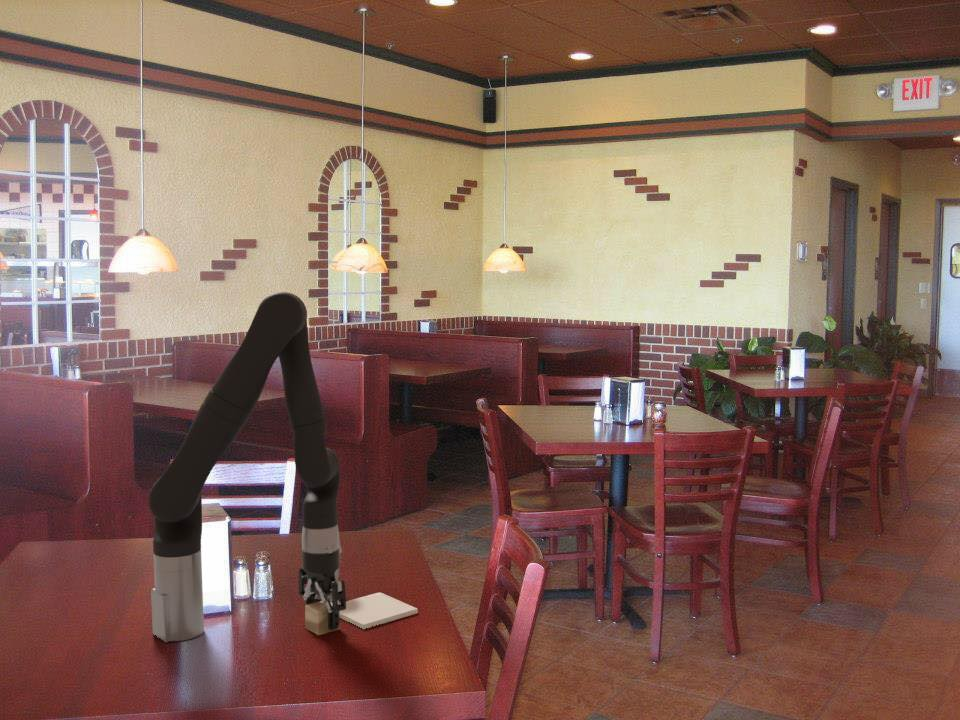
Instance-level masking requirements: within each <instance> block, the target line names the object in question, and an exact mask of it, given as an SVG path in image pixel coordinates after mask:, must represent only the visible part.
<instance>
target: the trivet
mask: <svg viewBox="0 0 960 720" xmlns="http://www.w3.org/2000/svg"><path fill="white" fill-rule="evenodd" d="M340 604H341V602H340ZM417 614H418V608H417V607H414V606H413V605H410V604H408V603H406V602H403V601H401V600H399V599H396V598H394V597H392V596H390V595H387V594H385V593H382V592H376V593H372V594H371V593H370V594H368V595H365V596H361V597H357V598H354V599H349V600H346V609H345V610H341V611H339V619H341V620H344V621H345V622H347V623H349V622H350V623H349V624H351V623H352V624H351V625H353V624H354V626H355V625H356V626H355V627H357V626H358V627H357V628H359V627H360V628H359V629H361V628H362V630H366V628H367V629H370V628H372V626H373V627H376V625H377V626H379V624H380V625H382V624H386V623H389V622H393V621H396V620H399V619H403V618H406V617H409V616H413V615H417Z"/></svg>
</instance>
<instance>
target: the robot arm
mask: <svg viewBox="0 0 960 720" xmlns="http://www.w3.org/2000/svg"><path fill="white" fill-rule="evenodd" d="M307 319H308V310H307V306H306V305H305V303H304V302H303V300H302V299H301V298H300V297H299V296H298V295H296V294H294V293H291V292H287V291H278V292H273V293H271V294H269V295H267V296H266V297H265V298H264V299H262V301H260V303H259V304H258V308H257V310H256V312H255V314H254V316H253V319H252V321H251V324H250V326H249V327H248V330H247V332H246V334H245V336H244V338H243V340H242V342H241V343H240V346H239V347H238V349H237V350H236V352H235V353H234V355H233V356H232V357H231V359H229V361H228V362H227V364H226V365H225V367H224V368H223V369H222V371H221V373H220V374H219V376H218V377H217V379H216V380H215V382H214V383H213V385H212V386H211V388H210V389H209V391H208V393H207V394H206V396H205V398H204V400H203V401H202V403H201V405H200V407H199V409H198V411H197V413H196V415H195V416H194V418H193V421H192V423H191V424H190V427H189V429H188V432H187V433H186V436H185V438H184V440H183V442H182V445H181V447H180V449H179V450H178V452H177V453H176V456H175V457H174V458H173V460H172V461H171V463H170V464H169V465H168V467H167V468H166V469H165V470H164V472H163V473H162V474H161V476H160V477H159V478H158V479H157V480H156V481H155V482H154V483H153V485H152V486H151V489H150V491H149V493H148V507H149V510H150V512H151V514H152V515H153V517H154V521H155V524H154V535H153V538H152V539H153V540H152V551H153V552H152V553H153V574H154V575H153V576H154V587H153V588H151V590H150V596H151V597H150V598H151V599H150V600H151V619H152V620H151V621H152V622H151V623H152V624H151V625H152V635H153V634H154V635H153V636H155V635H156V636H157V637H156V636H155V637H156V638H158V639H159V638H160V639H161V641H162V640H163V641H164V642H163V641H162V642H163V643H169V641H170V642H182V641H186V640H190V639H194V638H197V637H199V636H200V635H202V634H203V633H204V631H205V625H204V624H205V618H204V598H203V597H204V595H203V594H204V593H203V570H202V568H203V566H202V532H203V509H202V508H203V505H202V504H203V503H202V489H203V487H204V485H205V484H206V481H207V480H208V477H209V476H210V474H211V472H212V470H213V468H214V467H215V466H216V464H217V463H218V461H219V460H220V459H221V457H222V456H223V455H224V454H225V452H226V451H227V450H228V448H229V447H230V446H231V445H232V444H233V442H234V440H235V439H237V438H236V437H238V435H239V434H240V432H241V431H242V429H243V428H244V426H245V424H246V423H247V422H248V419H249V418H250V416H251V414H252V413H253V411H254V409H255V407H256V405H257V404H258V401H259V400H260V397H261V395H262V394H263V393H262V392H263V391H264V387H265V384H266V382H267V379H268V377H269V374H270V371H271V369H272V368H273V366H274V364H275V362H276V361H277V359H278V358H279V363H280V367H281V374H282V375H281V376H282V383H283V391H284V392H283V393H284V394H283V395H284V399H285V406H286V410H287V414H288V419H289V423H290V427H291V431H292V434H293V435H292V436H293V451H294V452H293V453H294V463H295V468H296V474H297V476H298V478H299V479H300V481H301V482H302V483H303V484H304V485H305V486H307V487H306V495H305V498H304V500H303V502H302V506H301V507H302V509H301V510H302V512H301V513H302V530H301V531H302V532H301V558H302V562H301V563H302V566H301V567H300V568H298V595H299V596H302V597H303V600H304V601H305V605H308V604H312V603H315V602H317V599H314V598H316V597H317V595H319V596H320V597H321V599H322V600H321V601H322V602H323V603H325V604H326V606H327V609H328V629H329V630H335V629H338V628H339V629H340V618H339V611H341V610H345V609H346V601H347V599H346V597H347V596H346V582H345V580H338V581H336V578H335V571H336V570H337V569H338V568H339V569H340V564H341V556H340V557H339V543H340V532H339V527H338V526H339V525H338V522H339V521H338V505H337V503H338V494H339V488H340V479H341V465H340V460H339V459H340V458H339V457H338V455H337V453H336V452H335V451H334V450H333V449H331V448H329V447H327V445H326V434H327V431H328V424H327V420H326V415H325V411H324V406H323V403H322V399H321V395H320V391H319V387H318V383H317V379H316V375H315V372H314V368H313V363H312V359H311V351H310V345H309V338H308V337H309V336H308V335H309V334H308V320H307ZM331 593H332V596H329V595H330V594H331ZM327 596H329V597H327ZM330 602H332V605H331V603H330ZM340 603H341V604H340ZM339 629H338V630H339ZM335 631H336V630H335ZM160 639H159V640H160Z"/></svg>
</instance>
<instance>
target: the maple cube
mask: <svg viewBox="0 0 960 720" xmlns="http://www.w3.org/2000/svg"><path fill="white" fill-rule="evenodd" d="M330 603H331V605H332V601H330ZM304 615H305V617H304V621H305V622H304V623H305V624H304V626H305V629H306V630H307V631H310V632H312V633H314V635H317V636H321V635H325V634H329V633H330V632H331V633H332V632H335V631H338V630H340V627H339V628H338V629H335V630H329V629H328V609H327V606H326V604H325V603H323V602H322V600H320V601H319V600H318V601H316V602H315V603H312V604H308V605H306V604H305V605H304Z"/></svg>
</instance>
